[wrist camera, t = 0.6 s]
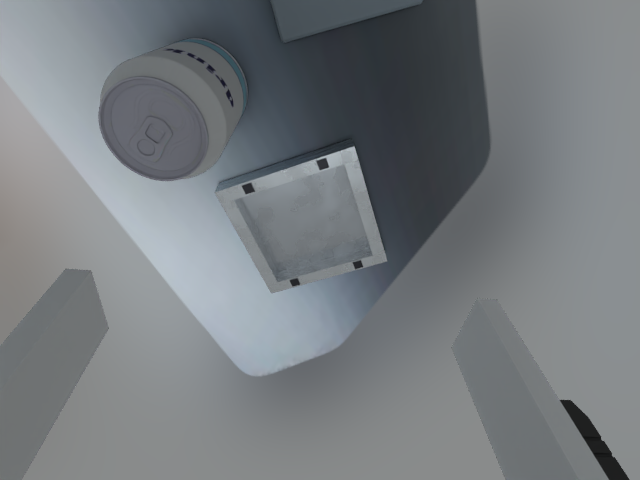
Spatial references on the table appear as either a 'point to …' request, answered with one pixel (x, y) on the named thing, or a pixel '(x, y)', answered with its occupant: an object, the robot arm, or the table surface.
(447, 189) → the table surface
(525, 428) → the robot arm
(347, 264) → the rail plate
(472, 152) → the table surface
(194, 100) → the beverage can
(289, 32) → the bracket
